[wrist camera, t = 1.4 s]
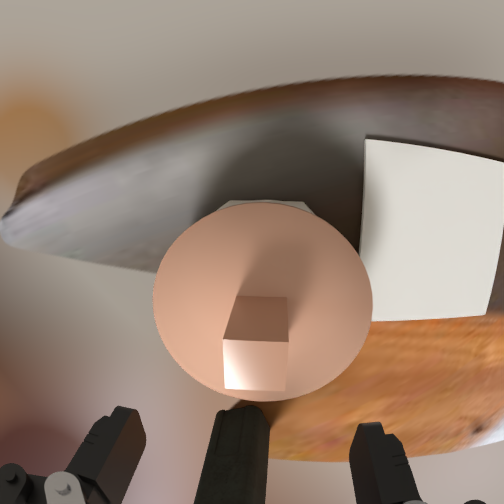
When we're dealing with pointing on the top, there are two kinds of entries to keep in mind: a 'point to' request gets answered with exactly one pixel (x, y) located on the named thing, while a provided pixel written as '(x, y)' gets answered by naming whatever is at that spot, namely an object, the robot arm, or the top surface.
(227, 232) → the lid
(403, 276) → the mat
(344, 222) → the top surface
